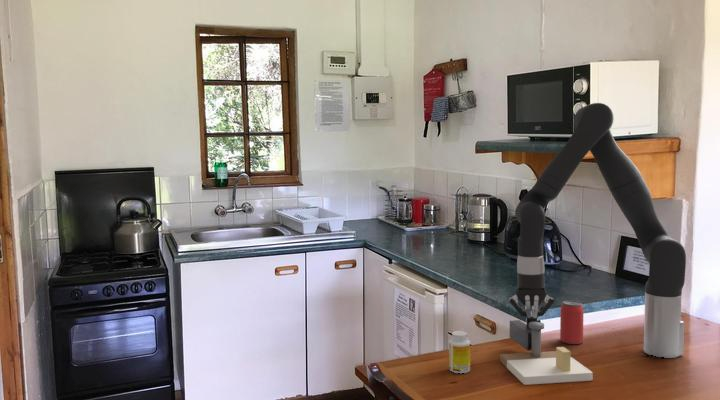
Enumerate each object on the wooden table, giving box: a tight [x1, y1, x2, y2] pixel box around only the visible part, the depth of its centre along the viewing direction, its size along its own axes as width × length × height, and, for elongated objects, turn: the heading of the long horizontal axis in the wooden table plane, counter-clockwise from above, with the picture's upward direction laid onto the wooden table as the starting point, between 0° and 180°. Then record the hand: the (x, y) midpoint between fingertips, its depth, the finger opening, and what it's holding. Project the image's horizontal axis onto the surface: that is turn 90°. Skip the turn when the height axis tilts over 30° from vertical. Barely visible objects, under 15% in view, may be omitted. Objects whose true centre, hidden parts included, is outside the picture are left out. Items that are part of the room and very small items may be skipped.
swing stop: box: [509, 319, 532, 351], centre depth 175 cm, size 12×3×5 cm, turn 10°
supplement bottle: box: [448, 330, 471, 375], centre depth 162 cm, size 6×6×10 cm
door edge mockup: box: [499, 321, 594, 386], centre depth 162 cm, size 18×17×11 cm
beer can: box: [559, 299, 585, 345], centre depth 185 cm, size 7×7×12 cm
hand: (531, 329), depth 177 cm, fingers closed
